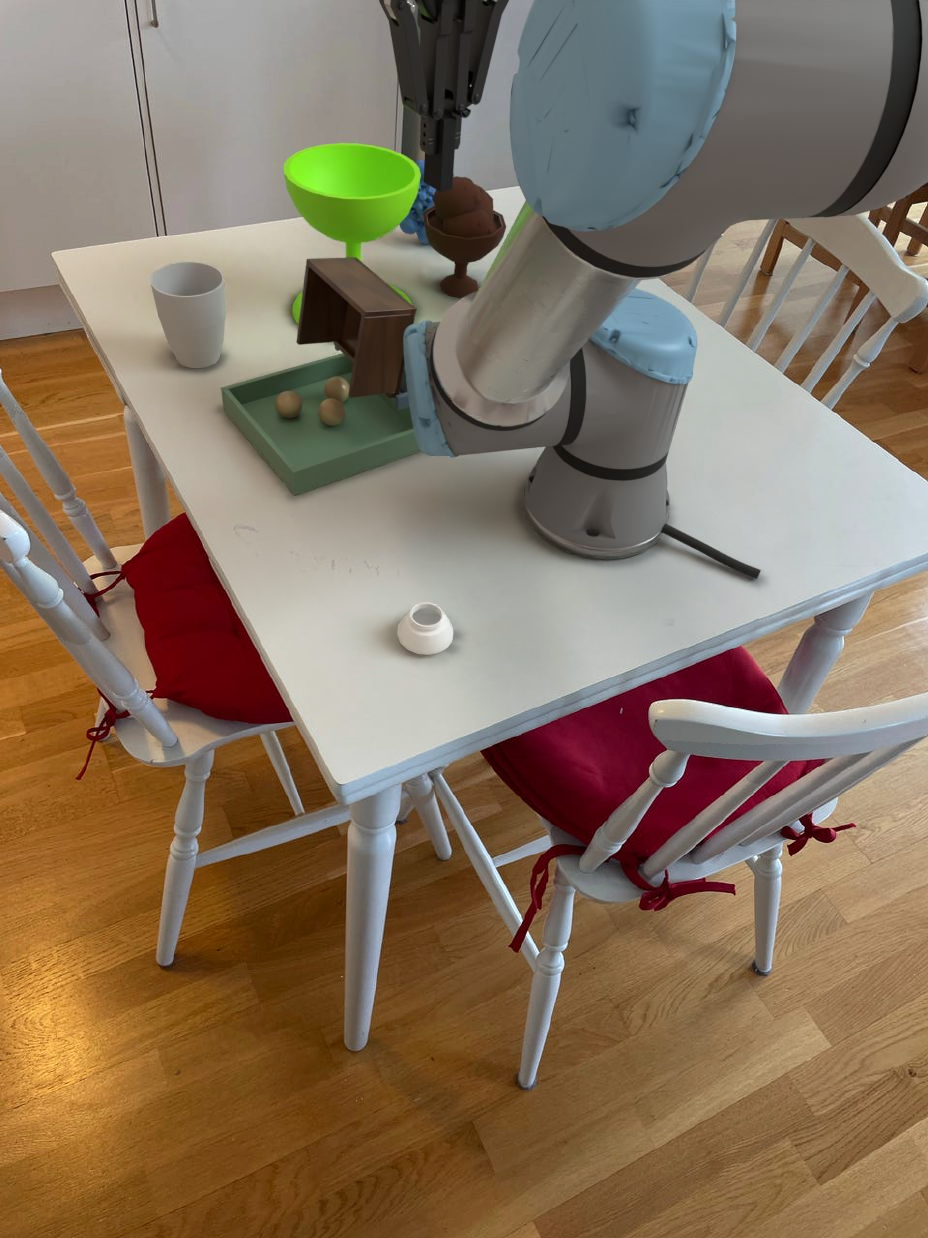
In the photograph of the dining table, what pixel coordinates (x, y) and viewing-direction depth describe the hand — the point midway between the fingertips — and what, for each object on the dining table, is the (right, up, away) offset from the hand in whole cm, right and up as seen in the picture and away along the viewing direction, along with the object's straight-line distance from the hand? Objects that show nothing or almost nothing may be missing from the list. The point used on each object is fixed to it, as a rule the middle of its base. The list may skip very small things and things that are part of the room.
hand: (437, 185), depth 93 cm
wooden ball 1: (-17, -19, +13) cm, 28 cm away
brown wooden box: (-7, -11, +9) cm, 16 cm away
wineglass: (-12, -2, +32) cm, 34 cm away
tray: (-13, -21, +14) cm, 28 cm away
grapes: (-2, +12, +46) cm, 47 cm away
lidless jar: (-1, -44, -7) cm, 45 cm away
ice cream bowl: (+2, +3, +38) cm, 38 cm away
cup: (-29, -11, +22) cm, 38 cm away
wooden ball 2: (-12, -16, +16) cm, 25 cm away
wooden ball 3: (-12, -19, +13) cm, 26 cm away
